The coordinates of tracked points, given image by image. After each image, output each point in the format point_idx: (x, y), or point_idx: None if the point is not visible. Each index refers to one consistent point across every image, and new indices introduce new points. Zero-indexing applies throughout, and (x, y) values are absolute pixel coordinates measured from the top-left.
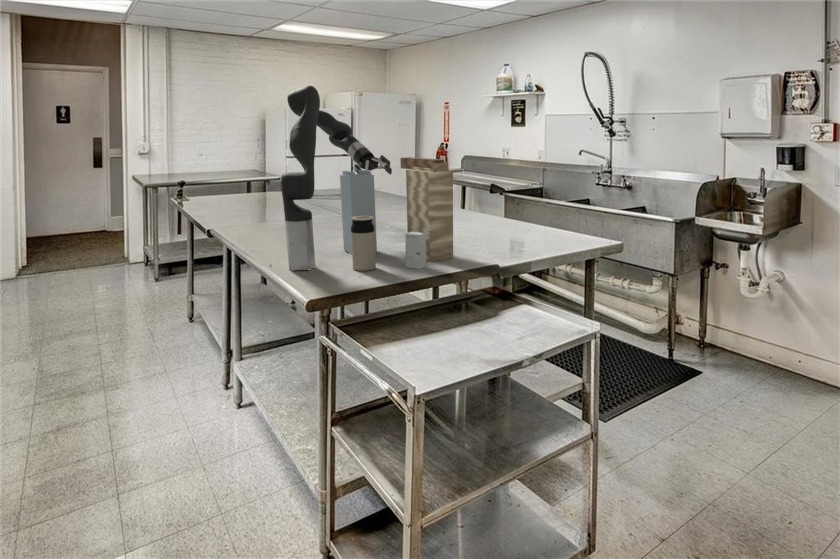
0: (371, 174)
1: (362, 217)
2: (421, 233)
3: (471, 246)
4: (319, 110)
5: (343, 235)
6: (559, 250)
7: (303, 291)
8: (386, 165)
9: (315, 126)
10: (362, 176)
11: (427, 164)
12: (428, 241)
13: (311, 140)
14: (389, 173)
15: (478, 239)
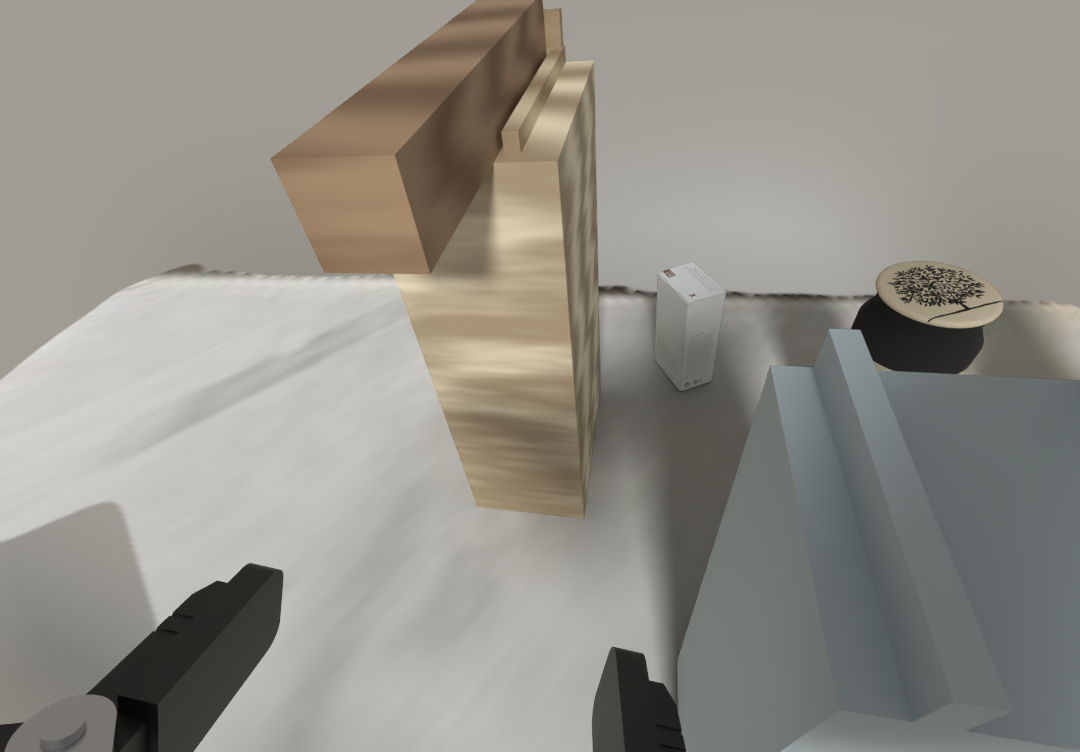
0: (623, 701)
1: (937, 285)
2: (676, 271)
3: (323, 457)
4: None
5: None
6: (272, 299)
7: None
8: (130, 691)
9: None
10: (947, 380)
11: (529, 47)
12: (598, 349)
13: None
14: (267, 636)
15: (171, 530)
